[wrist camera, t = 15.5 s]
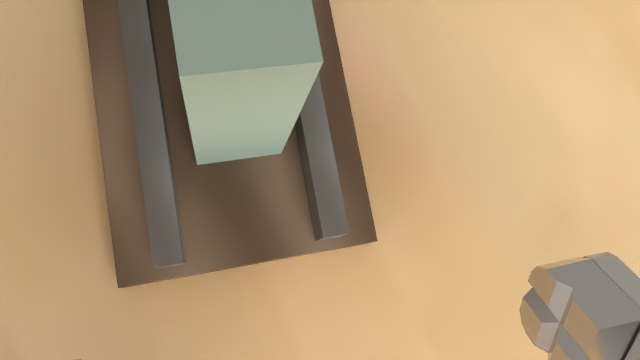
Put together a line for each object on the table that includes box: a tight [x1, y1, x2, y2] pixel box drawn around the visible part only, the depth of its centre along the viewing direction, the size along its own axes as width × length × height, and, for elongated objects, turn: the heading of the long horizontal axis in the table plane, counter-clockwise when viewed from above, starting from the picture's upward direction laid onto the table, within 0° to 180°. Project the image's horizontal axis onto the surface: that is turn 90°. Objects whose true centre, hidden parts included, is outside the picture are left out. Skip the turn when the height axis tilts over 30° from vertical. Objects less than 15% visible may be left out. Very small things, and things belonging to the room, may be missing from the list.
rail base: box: [83, 0, 377, 288], centre depth 21 cm, size 12×18×12 cm, turn 10°
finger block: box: [168, 0, 324, 165], centre depth 20 cm, size 4×4×11 cm
